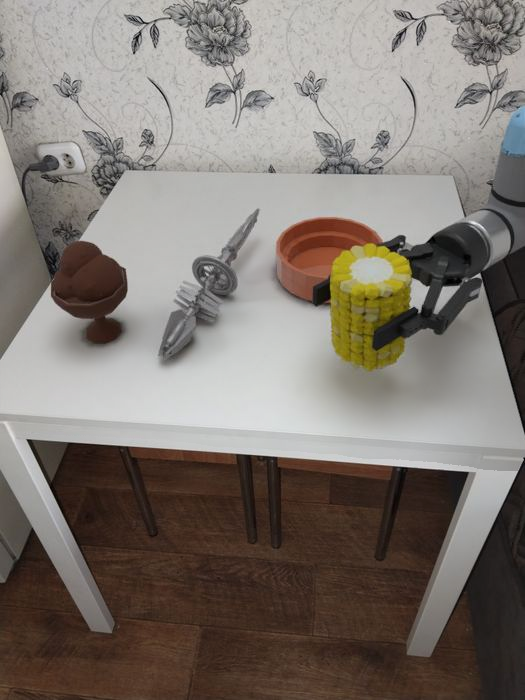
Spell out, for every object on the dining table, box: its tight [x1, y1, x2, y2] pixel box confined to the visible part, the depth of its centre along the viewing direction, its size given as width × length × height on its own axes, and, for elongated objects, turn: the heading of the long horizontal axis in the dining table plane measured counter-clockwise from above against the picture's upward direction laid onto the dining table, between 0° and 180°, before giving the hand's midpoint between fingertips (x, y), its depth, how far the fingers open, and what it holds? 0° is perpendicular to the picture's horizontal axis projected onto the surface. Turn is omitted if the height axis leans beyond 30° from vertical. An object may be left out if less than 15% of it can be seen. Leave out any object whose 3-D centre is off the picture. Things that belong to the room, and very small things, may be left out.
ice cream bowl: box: [50, 240, 129, 344], centre depth 85 cm, size 11×11×15 cm
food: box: [329, 243, 413, 372], centre depth 72 cm, size 15×12×10 cm
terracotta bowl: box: [275, 216, 384, 304], centre depth 97 cm, size 17×17×6 cm
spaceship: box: [157, 208, 261, 360], centre depth 93 cm, size 8×35×8 cm
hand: (343, 317), depth 70 cm, fingers closed on food, 10 cm apart
